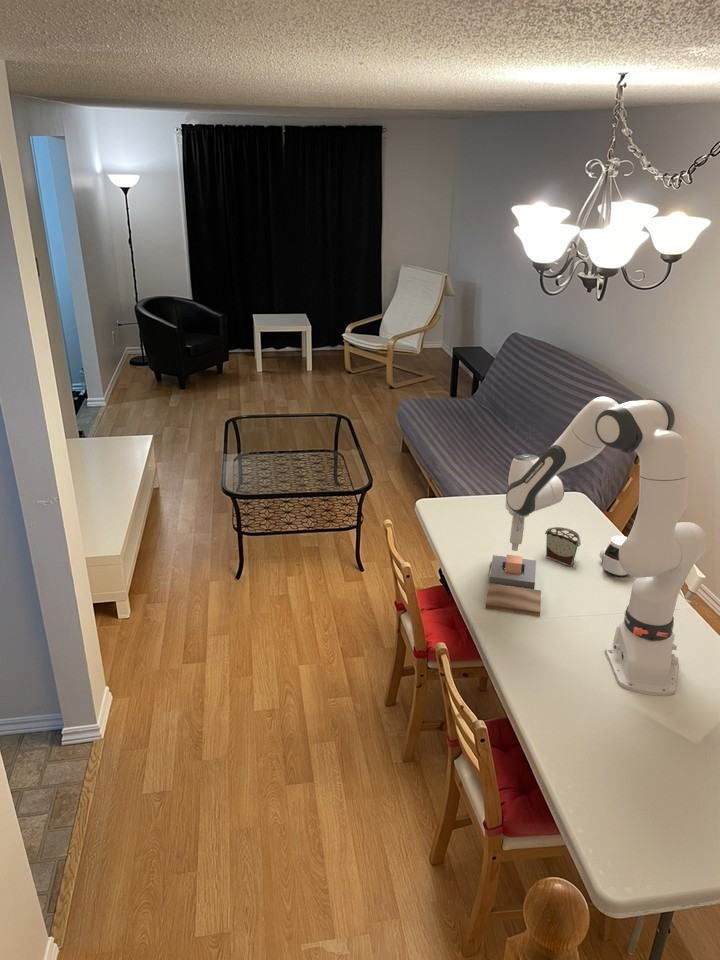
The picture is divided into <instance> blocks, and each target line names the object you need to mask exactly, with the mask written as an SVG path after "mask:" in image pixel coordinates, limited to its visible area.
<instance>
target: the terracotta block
mask: <svg viewBox="0 0 720 960" xmlns="http://www.w3.org/2000/svg"><path fill="white" fill-rule="evenodd" d="M506 557H507V558H506V566H505V569H504V573H510V574H517V575H522V571H521V568H522V559H524V558H523V555H515V554H514V555H513V554H509V553H508V554H506Z"/></svg>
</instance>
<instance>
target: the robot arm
mask: <svg viewBox="0 0 720 960" xmlns="http://www.w3.org/2000/svg"><path fill="white" fill-rule="evenodd" d="M675 420H676V418H675V412H674V410H673V408H672V406H671V405H670V404H669V403H668V402H666V401H665V400H662V399H659V398H645V399H641V400H640V399H639V400H629V401H625V402H623V403H618V402H617V401H616V400H614V399H613V398H612V397H608V396H598V397H595V398H593V399H592V400H591V401H589V402H588V403H587V404H586V405H584V407H583V408H582V409H581V410H580V411H579V412H578V413H577V414H576V415H575V417H574V418H573V420H571V422H570V423H569V425H568V426H567V427H566V429H565V430H564V431H563V432H562V434H561V435H560V436H559V437H558V438H557V439H556V440H555V442H554V443H552V445H551V446H550V447H549V448H548V449H547V450H546V451H545V452H544V453H543V454H542V455H541V456H540V457H539V456H538V455H535V454H530V453H525V454H524V453H523V454H521V455H517V456H515V457H514V458H513V459H512V461H511V464H510V468H509V472H508V479H507V480H508V488H507V491H506V494H505V509H506V510H507V511H508V513H509V515H511V517H512V518H511V519H512V520H511V526H510V535H509V543H510V544H511V550H512V551H514V552H517V551H518V549H519V545H521V544H522V543H523V538H524V530H525V522H526V521H525V518H527V517H529V516H530V514H532V513H534V512H536V511H537V512H538V511H539V510H542V509H545V508H548V507H551V506H554V505H557V504H558V503H560V502H561V501H562V500H563V498H564V496H565V485H564V482H563V480H562V479H561V478H560V477H559V475H558V474H560V473H563V472H564V471H566V470H568V469H570V468H573V467H577V466H578V465H579V466H580V465H582V464H583V463H586V462H589V461H591V460H592V459H593V458H595V457H597V456H598V455H599V454H600V453H601V452H602V451H603V450H604V449H605V447H609V448H612V449H616V450H619V451H621V452H623V453H624V454H625V453H626V454H631V453H633V452H635V453H636V454H637V456H638V459H639V497H638V499H639V500H638V507H637V512H636V516H635V519H634V522H633V525H632V527H631V530H630V532H629V534H628V536H626V537H627V539H626V540H625V541H624V543H623V544H622V545H621V546H620V549H619V561H620V564H621V566H622V568H623V569H624V570H625V571H626V572H627V573H628V575H629V576H630V577H633V578H635V580H634V582H633V584H632V586H631V591H630V597H629V601H628V602H629V603H628V605H627V606H626V609H625V611H624V619H623V621H622V622H621V623H620V624H618V625H617V626H616V629H615V632H614V637H613V640H612V641H613V642H612V645H608V646H606V647H605V649H604V653H605V656H606V658H607V661H608V663H609V665H610V668H611V670H612V672H613V674H614V677H615V680H616V682H617V683H618V685H619V686H620V687H622V688H625V689H627V690H630V691H633V692H636V693H641V694H646V695H652V696H670V695H674V694H676V689H677V678H678V670H679V669H678V668H679V657H678V656H676V654H675V653H673V650H674V651H677V647H678V645H677V644H674V642H675V641H674V640H675V637H676V634H675V632H673V629H674V624H675V623H674V620H675V618H674V614H675V613H674V612H675V609H676V604H677V601H678V597H679V594H680V592H681V589H682V587H683V586H684V583H685V581H686V580H687V578H688V576H689V574H690V572H691V571H692V569H693V567H694V565H695V564H696V563H697V562H698V560H699V559H700V558H701V557H702V556H703V555H704V554H705V552H706V551H707V548H708V539H707V535H706V533H705V531H704V530H703V529H702V528H701V527H700V526H699V525H698V524H697V523H694V522H691V521H690V522H689V521H686V522H685V521H682V522H681V521H680V522H679V520H680V518H681V516H682V515H683V513H685V511H686V508H688V504H689V503H688V501H689V500H688V499H689V498H688V497H689V496H688V491H689V489H688V487H689V480H688V479H689V468H688V467H689V465H688V464H689V462H688V455H687V448H686V445H685V439H684V438H683V437H682V435H680V434H679V433H678V432H675V431H673V430H672V429H673V427H674V425H675Z"/></svg>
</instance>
